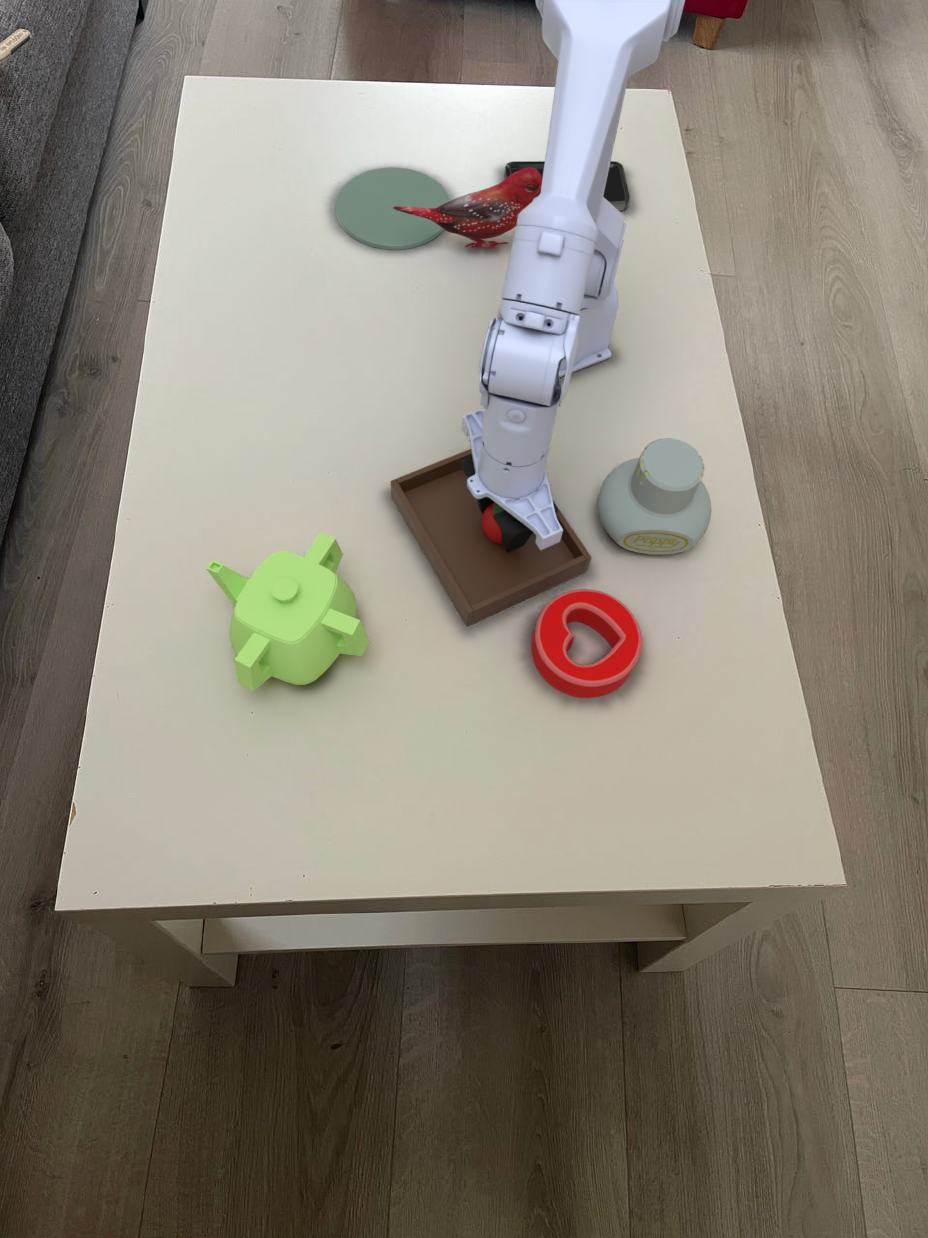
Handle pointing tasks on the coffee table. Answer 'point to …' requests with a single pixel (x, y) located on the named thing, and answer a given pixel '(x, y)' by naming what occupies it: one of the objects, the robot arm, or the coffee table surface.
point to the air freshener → (657, 499)
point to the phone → (614, 186)
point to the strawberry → (492, 523)
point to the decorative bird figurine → (485, 208)
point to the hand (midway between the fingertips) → (502, 527)
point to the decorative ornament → (557, 639)
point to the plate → (389, 207)
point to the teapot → (291, 615)
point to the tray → (478, 544)
